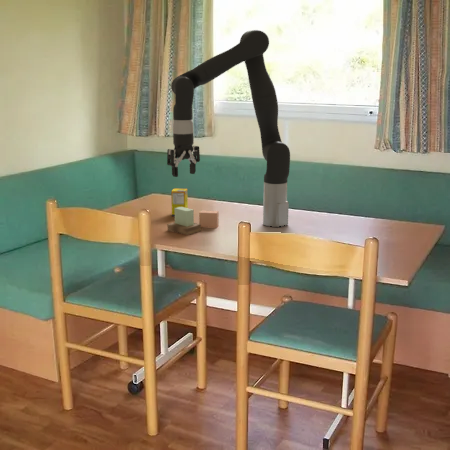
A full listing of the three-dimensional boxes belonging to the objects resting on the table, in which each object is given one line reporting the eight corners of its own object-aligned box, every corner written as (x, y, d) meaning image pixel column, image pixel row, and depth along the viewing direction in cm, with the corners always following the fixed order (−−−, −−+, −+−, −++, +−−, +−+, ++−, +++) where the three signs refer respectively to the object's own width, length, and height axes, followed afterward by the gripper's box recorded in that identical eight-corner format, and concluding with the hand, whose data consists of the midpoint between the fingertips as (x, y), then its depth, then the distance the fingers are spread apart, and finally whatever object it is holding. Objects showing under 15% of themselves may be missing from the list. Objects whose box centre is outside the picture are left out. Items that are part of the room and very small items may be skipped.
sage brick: (193, 224, 244) (193, 209, 242) (186, 226, 241) (186, 211, 240) (181, 221, 248) (181, 206, 247) (174, 223, 246) (174, 208, 244)
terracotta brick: (218, 225, 252) (218, 211, 251) (216, 228, 249) (216, 213, 247) (201, 225, 253) (201, 210, 252) (199, 227, 250) (199, 212, 249)
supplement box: (187, 213, 271) (187, 188, 269) (185, 216, 266) (185, 191, 263) (174, 213, 272) (173, 187, 269) (171, 216, 266) (171, 190, 263)
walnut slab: (200, 231, 245) (200, 224, 244) (187, 236, 239) (187, 228, 238) (181, 227, 251) (181, 220, 250) (167, 231, 245) (167, 224, 244)
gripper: (175, 134, 228) (176, 179, 232) (204, 131, 237) (204, 174, 242) (161, 132, 233) (163, 176, 237) (190, 129, 243) (191, 171, 247)
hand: (184, 175), depth 239 cm, fingers open, 8 cm apart
